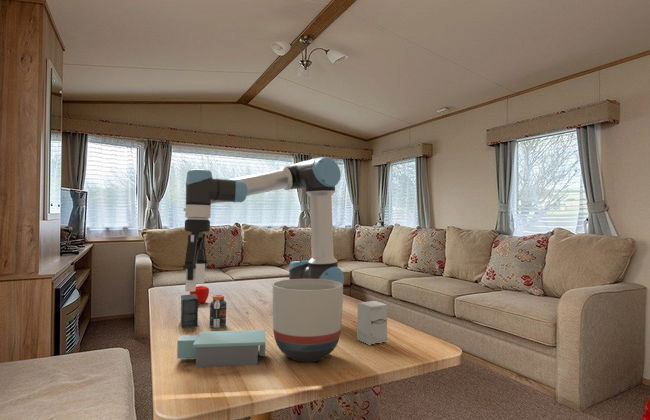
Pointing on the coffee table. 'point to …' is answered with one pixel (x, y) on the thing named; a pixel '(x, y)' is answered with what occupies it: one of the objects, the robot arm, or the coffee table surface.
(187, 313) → the box
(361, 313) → the supplement box
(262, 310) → the coffee table surface
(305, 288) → the planter
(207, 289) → the apple
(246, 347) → the tub
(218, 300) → the pill bottle
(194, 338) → the lid
